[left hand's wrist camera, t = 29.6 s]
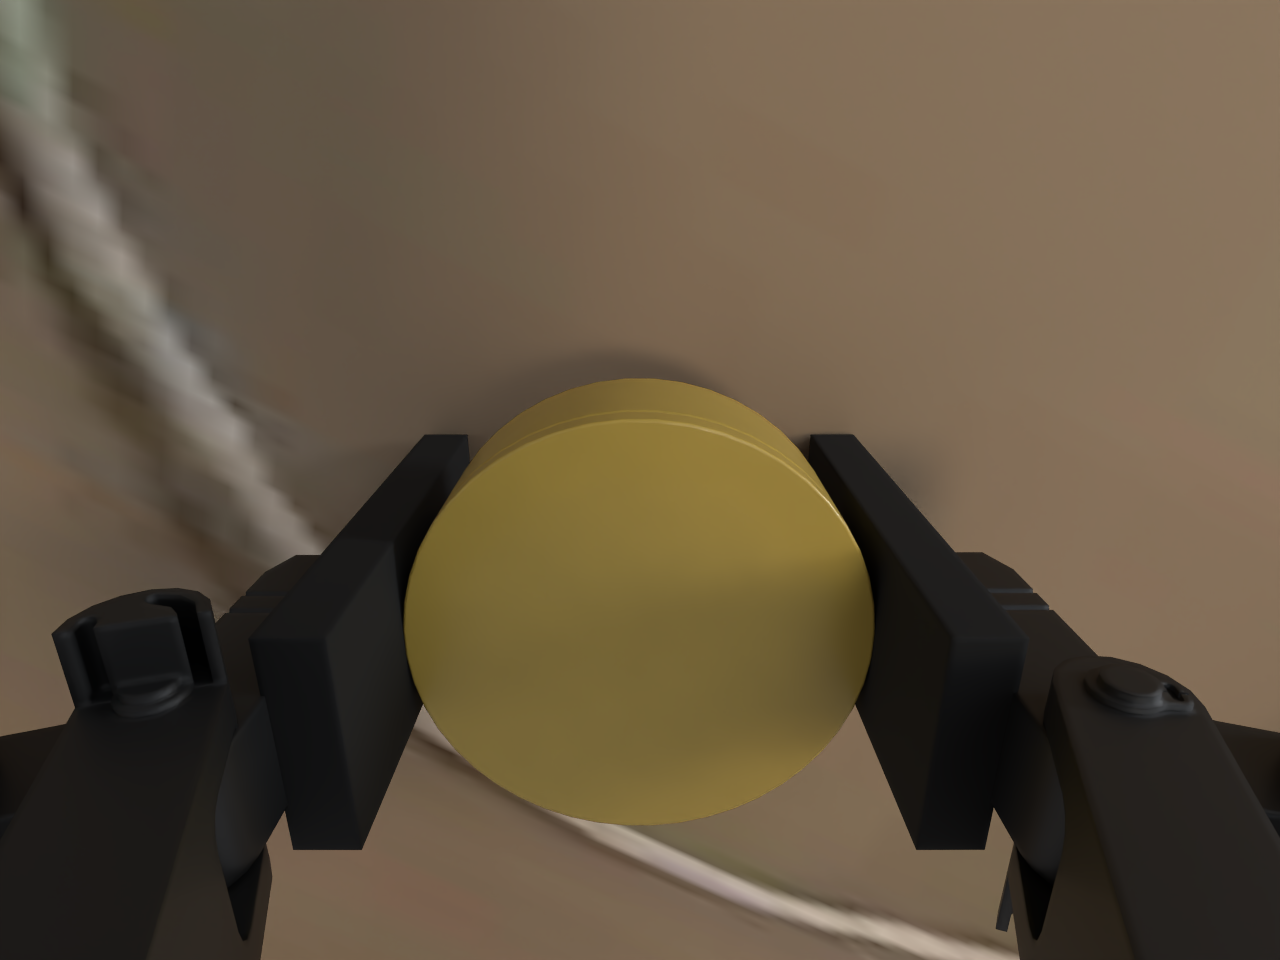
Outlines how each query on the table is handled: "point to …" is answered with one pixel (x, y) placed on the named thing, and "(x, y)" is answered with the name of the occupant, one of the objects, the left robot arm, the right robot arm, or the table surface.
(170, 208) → the table surface
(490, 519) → the lid
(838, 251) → the table surface
